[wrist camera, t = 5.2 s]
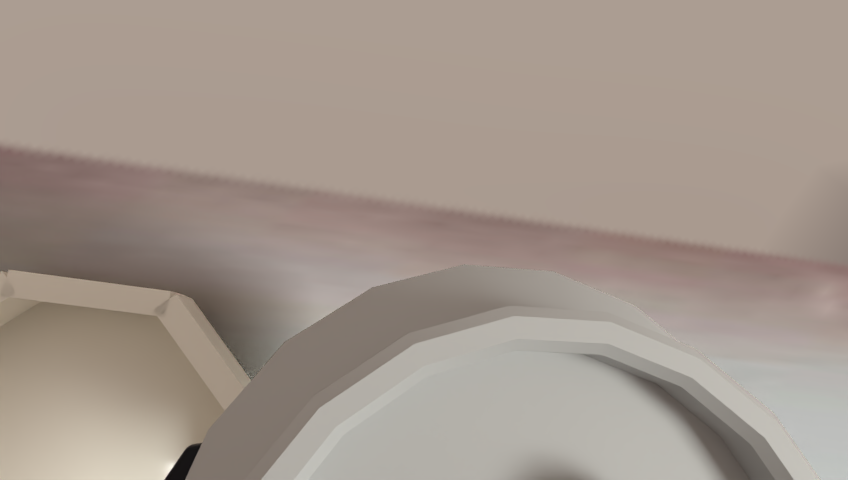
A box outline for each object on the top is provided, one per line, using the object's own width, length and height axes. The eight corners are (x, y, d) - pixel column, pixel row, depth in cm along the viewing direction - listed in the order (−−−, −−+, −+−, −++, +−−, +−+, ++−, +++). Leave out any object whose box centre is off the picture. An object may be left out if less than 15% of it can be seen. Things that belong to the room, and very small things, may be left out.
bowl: (223, 687, 19) (205, 741, 16) (-212, 675, 17) (-311, 734, 14) (292, 310, 22) (286, 306, 19) (-65, 263, 20) (-124, 251, 17)
